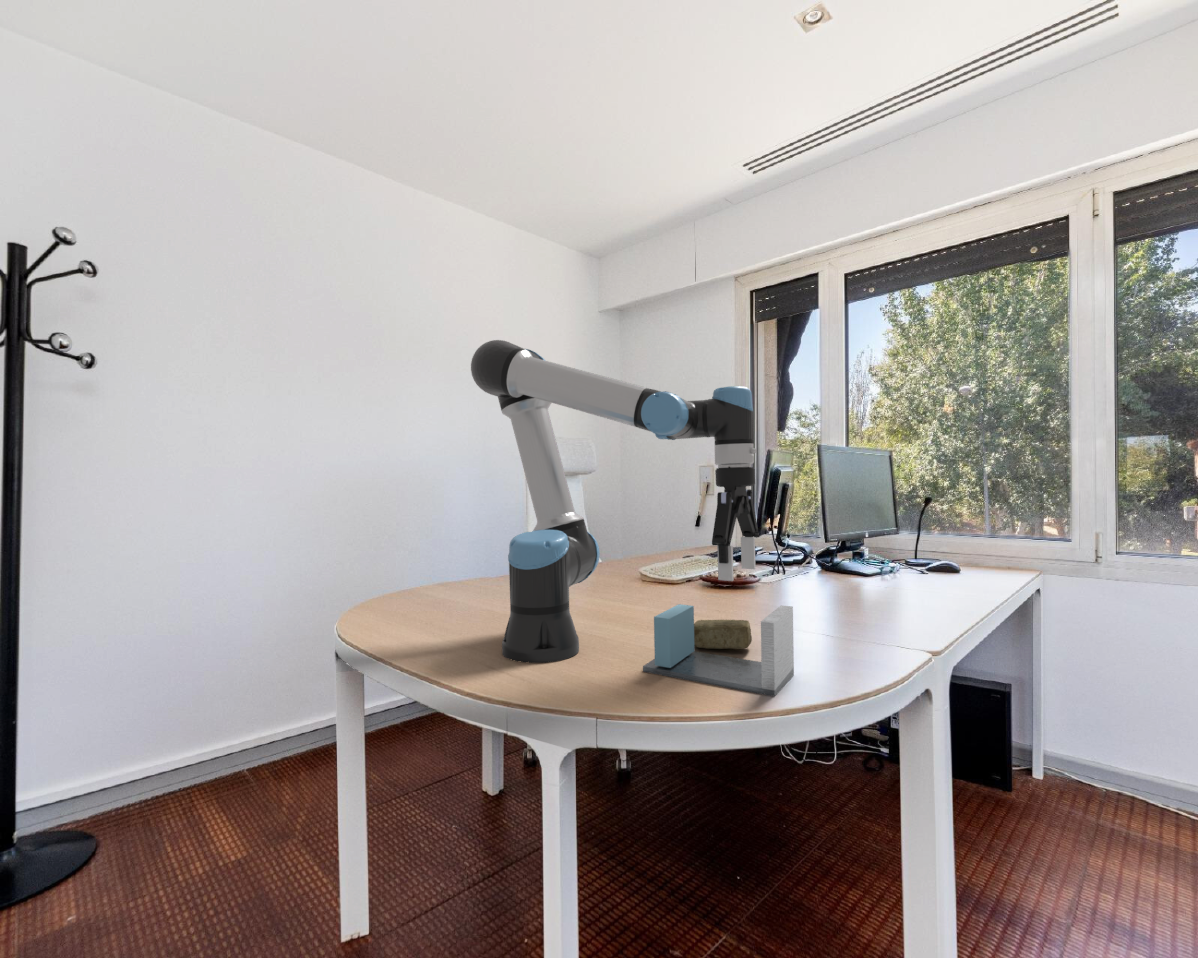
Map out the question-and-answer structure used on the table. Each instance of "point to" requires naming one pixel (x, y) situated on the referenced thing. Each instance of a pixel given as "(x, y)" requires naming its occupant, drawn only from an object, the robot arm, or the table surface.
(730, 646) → the stone block
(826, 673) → the table surface
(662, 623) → the sliding jaw
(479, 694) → the table surface
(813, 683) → the table surface
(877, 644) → the table surface
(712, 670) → the vise bed
